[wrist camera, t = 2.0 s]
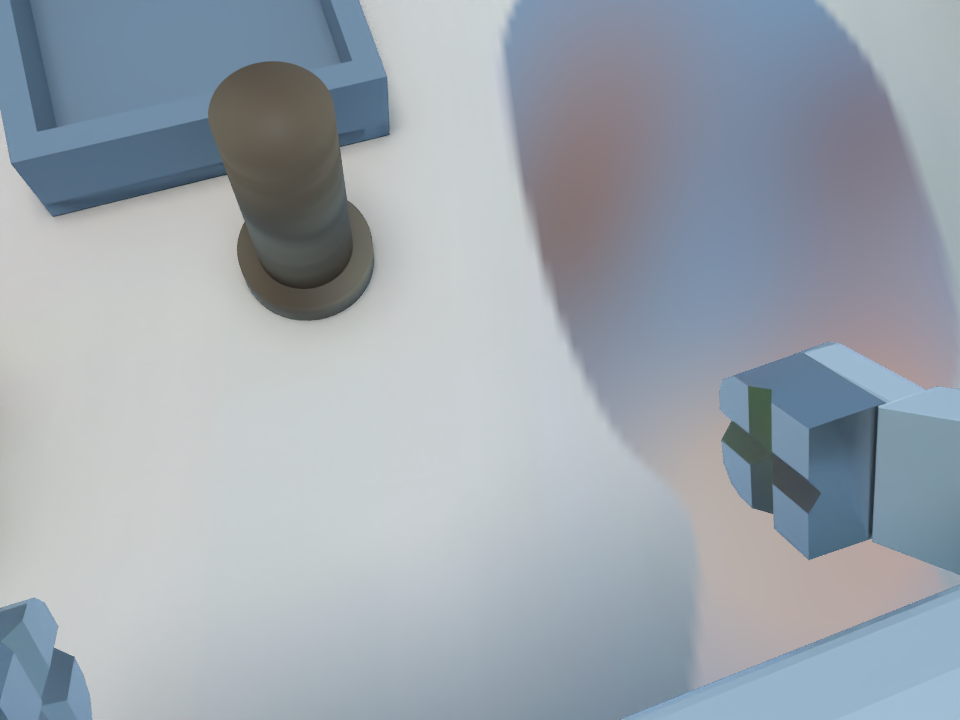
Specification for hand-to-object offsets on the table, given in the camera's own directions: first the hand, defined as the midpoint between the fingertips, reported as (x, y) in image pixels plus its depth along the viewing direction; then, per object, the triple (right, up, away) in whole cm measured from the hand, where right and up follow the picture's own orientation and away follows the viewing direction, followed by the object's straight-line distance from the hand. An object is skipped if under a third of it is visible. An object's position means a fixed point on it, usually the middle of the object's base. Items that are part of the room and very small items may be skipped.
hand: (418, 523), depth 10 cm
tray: (-11, +15, +25) cm, 31 cm away
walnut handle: (-6, +6, +22) cm, 23 cm away
